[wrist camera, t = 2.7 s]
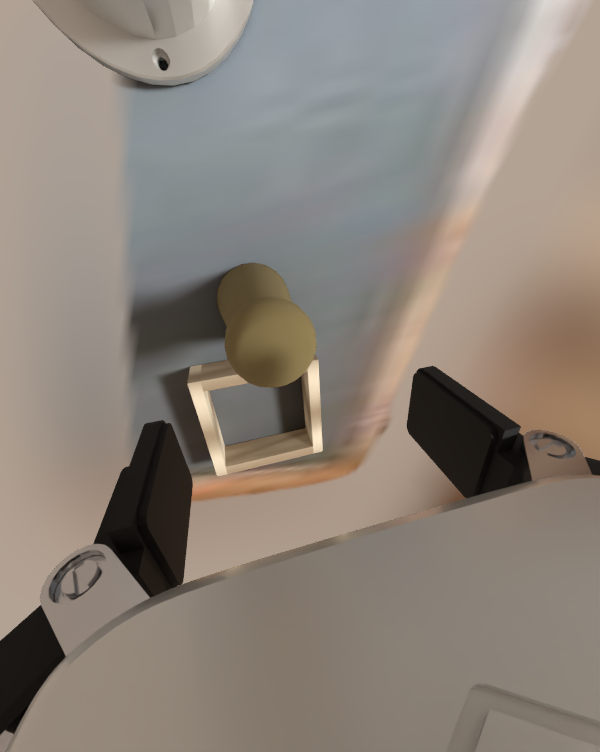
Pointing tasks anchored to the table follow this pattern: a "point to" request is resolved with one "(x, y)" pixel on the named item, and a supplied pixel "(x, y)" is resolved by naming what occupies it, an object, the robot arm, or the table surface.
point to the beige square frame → (262, 448)
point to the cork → (264, 327)
